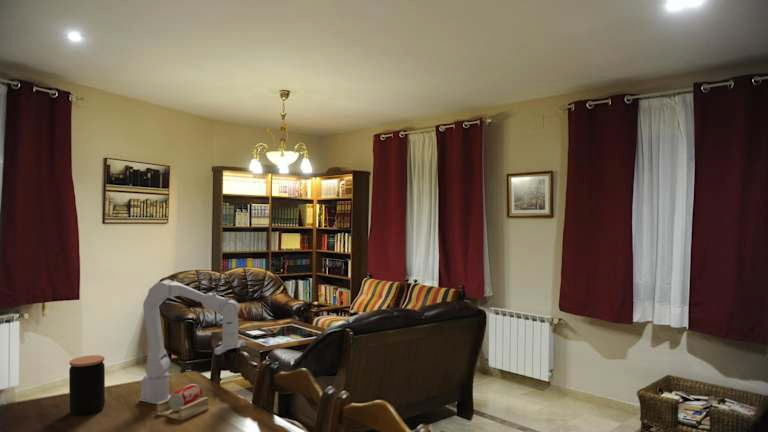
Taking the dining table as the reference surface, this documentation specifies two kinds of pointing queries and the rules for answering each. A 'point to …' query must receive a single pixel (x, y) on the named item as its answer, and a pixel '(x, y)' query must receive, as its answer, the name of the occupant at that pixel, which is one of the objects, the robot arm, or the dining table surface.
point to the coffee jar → (87, 385)
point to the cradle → (182, 409)
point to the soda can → (184, 396)
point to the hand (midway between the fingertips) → (230, 368)
